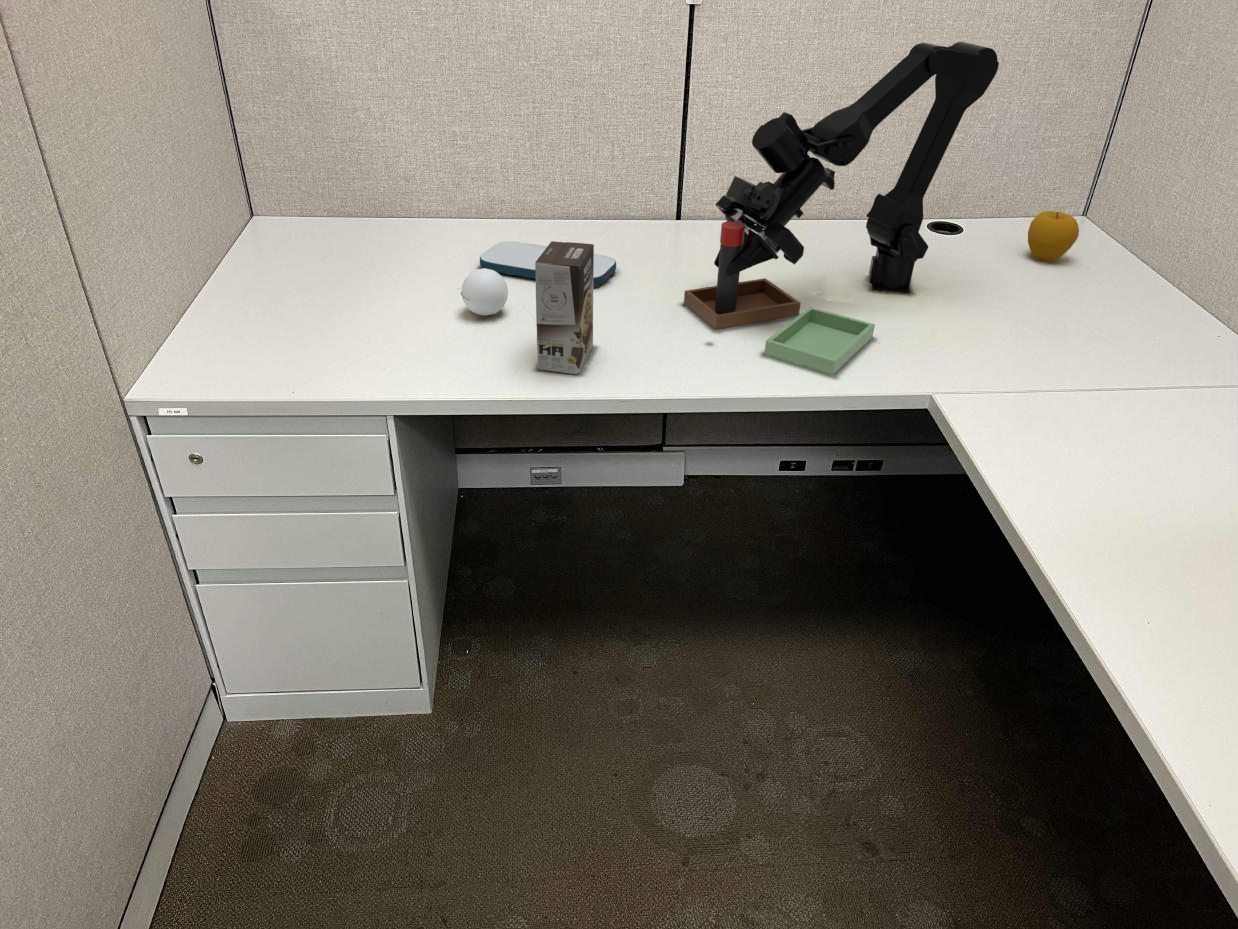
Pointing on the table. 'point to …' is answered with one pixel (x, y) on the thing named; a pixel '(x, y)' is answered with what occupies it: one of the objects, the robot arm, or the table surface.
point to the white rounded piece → (484, 292)
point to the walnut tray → (743, 304)
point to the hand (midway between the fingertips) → (721, 269)
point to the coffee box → (564, 306)
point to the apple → (1052, 235)
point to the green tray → (819, 340)
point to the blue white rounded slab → (523, 258)
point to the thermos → (728, 251)
